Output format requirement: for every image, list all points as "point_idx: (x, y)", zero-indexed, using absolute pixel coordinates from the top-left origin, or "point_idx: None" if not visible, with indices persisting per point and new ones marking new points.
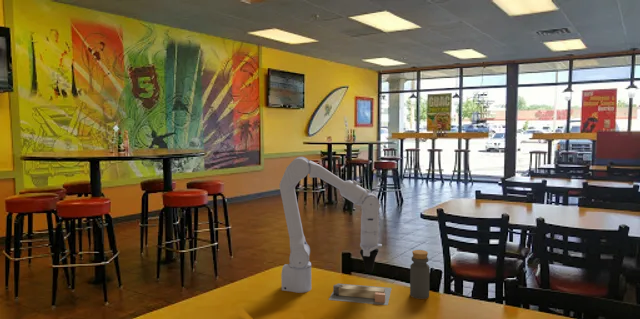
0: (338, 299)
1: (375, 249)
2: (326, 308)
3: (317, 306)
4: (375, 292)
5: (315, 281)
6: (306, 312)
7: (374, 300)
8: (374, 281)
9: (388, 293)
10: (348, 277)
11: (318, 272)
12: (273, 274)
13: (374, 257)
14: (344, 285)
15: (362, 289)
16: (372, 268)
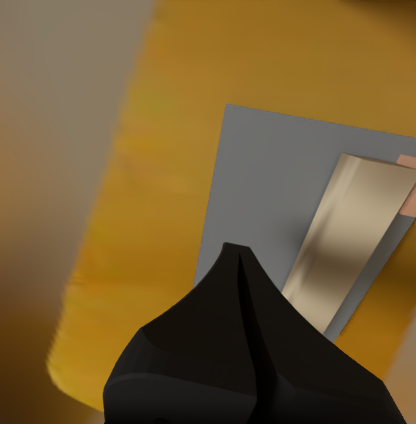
0: (339, 318)
1: (174, 415)
2: (366, 336)
3: (344, 352)
4: (405, 214)
5: None
6: (381, 374)
7: None
8: (111, 177)
9: (304, 128)
10: (95, 265)
11: (80, 335)
12: None
13: (336, 357)
14: None
15: (355, 269)
16: (257, 263)
